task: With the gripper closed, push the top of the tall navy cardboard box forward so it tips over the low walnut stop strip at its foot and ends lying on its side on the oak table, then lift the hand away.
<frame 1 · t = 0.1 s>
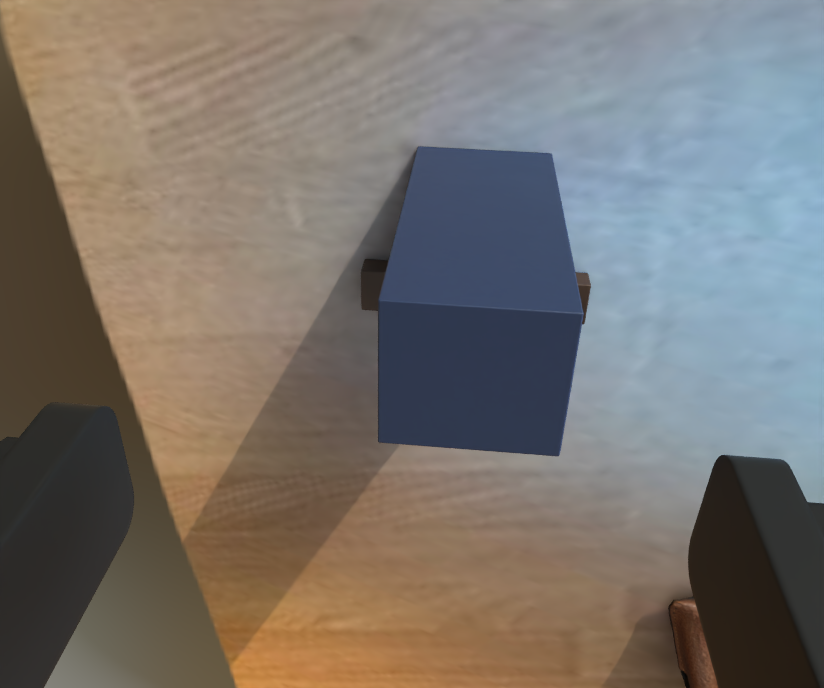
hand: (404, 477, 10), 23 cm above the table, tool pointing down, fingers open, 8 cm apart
navy box: (480, 206, 33), on the table
stop strip: (474, 285, 35), on the table
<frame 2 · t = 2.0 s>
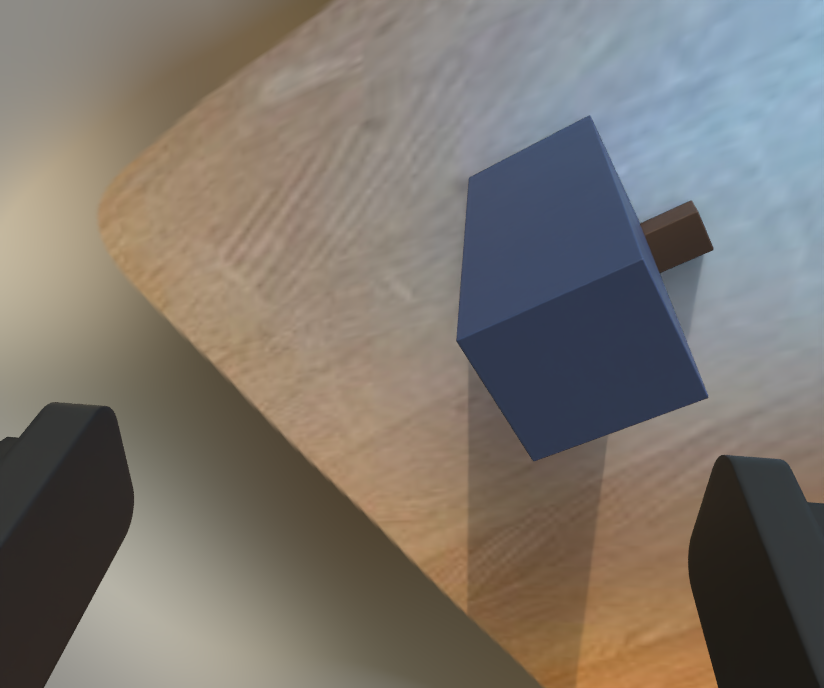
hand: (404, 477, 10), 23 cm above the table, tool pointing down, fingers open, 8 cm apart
navy box: (553, 197, 33), on the table
stop strip: (589, 268, 34), on the table
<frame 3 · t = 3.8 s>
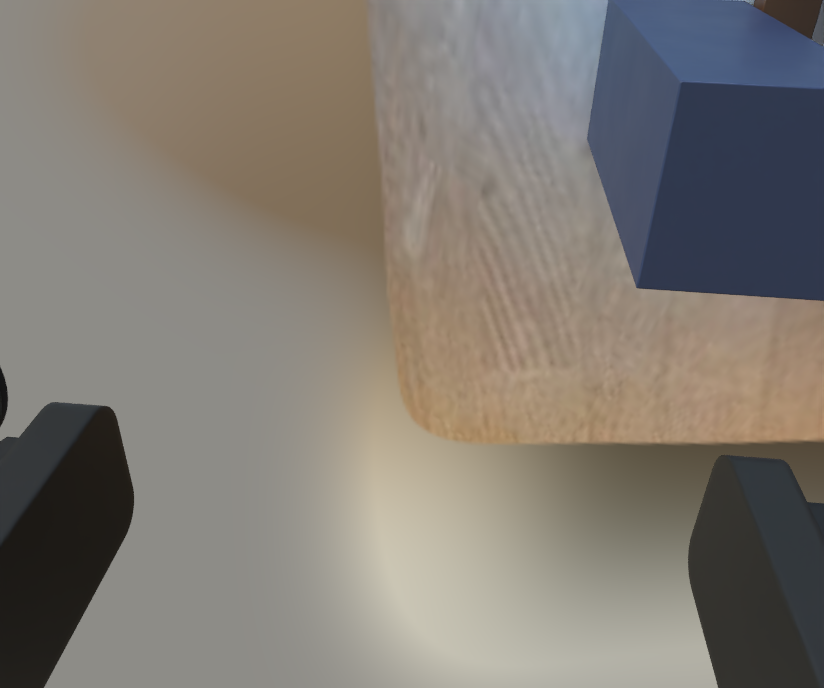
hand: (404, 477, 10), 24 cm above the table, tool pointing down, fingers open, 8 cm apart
navy box: (661, 73, 30), on the table
stop strip: (760, 78, 30), on the table
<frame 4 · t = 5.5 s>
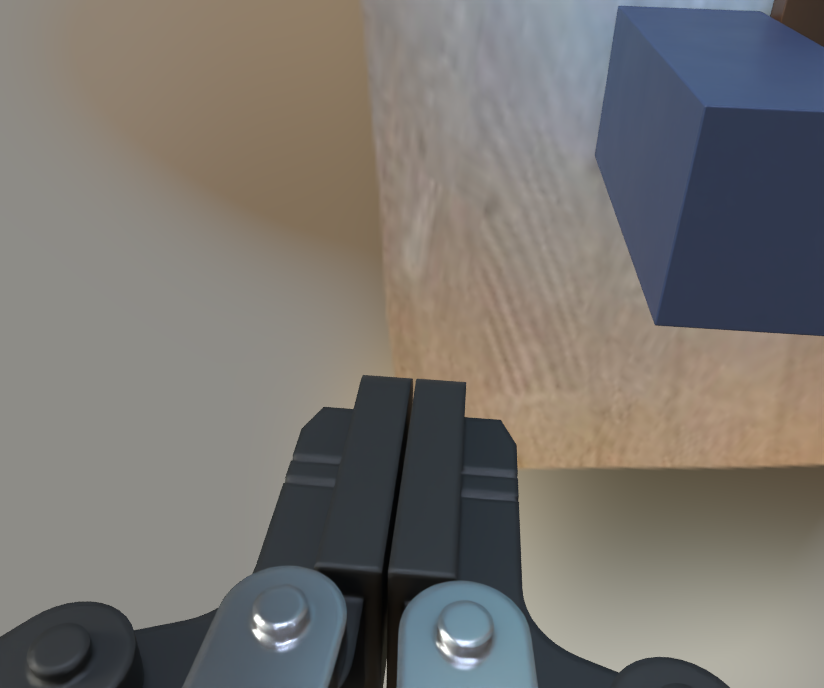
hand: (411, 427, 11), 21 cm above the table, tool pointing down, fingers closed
navy box: (673, 87, 28), on the table
stop strip: (777, 92, 28), on the table
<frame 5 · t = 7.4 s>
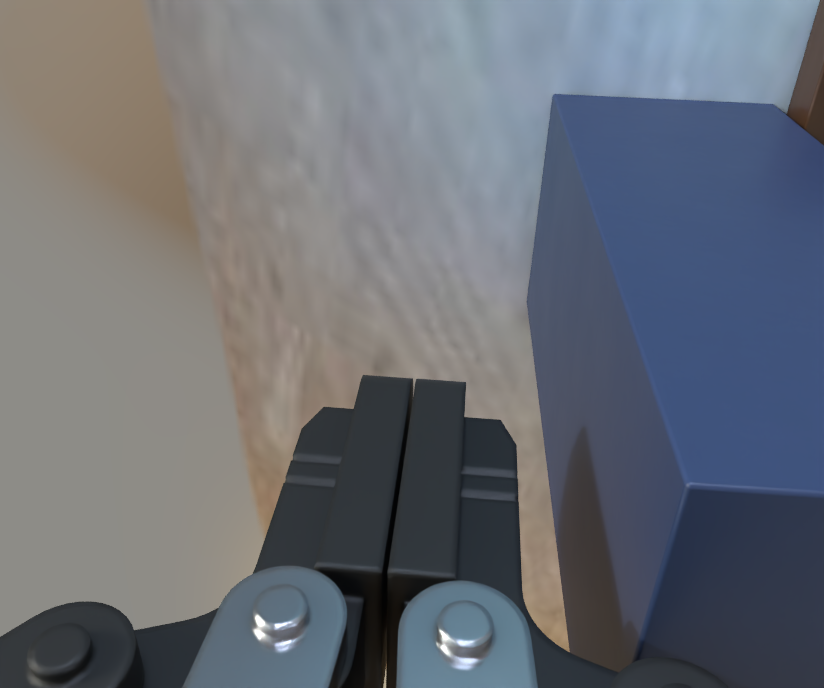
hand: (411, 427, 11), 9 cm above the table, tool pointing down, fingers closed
navy box: (639, 211, 19), on the table, touching gripper
stop strip: (797, 220, 19), on the table
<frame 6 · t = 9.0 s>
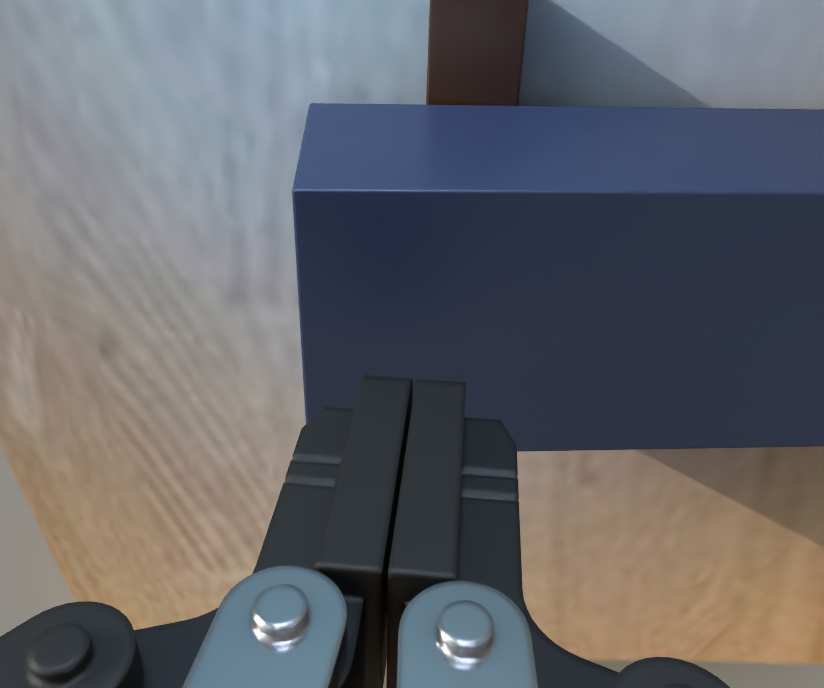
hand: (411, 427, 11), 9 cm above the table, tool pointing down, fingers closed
navy box: (308, 272, 16), point 4 cm above the table, tilted 98°, touching stop strip
stop strip: (465, 201, 19), on the table
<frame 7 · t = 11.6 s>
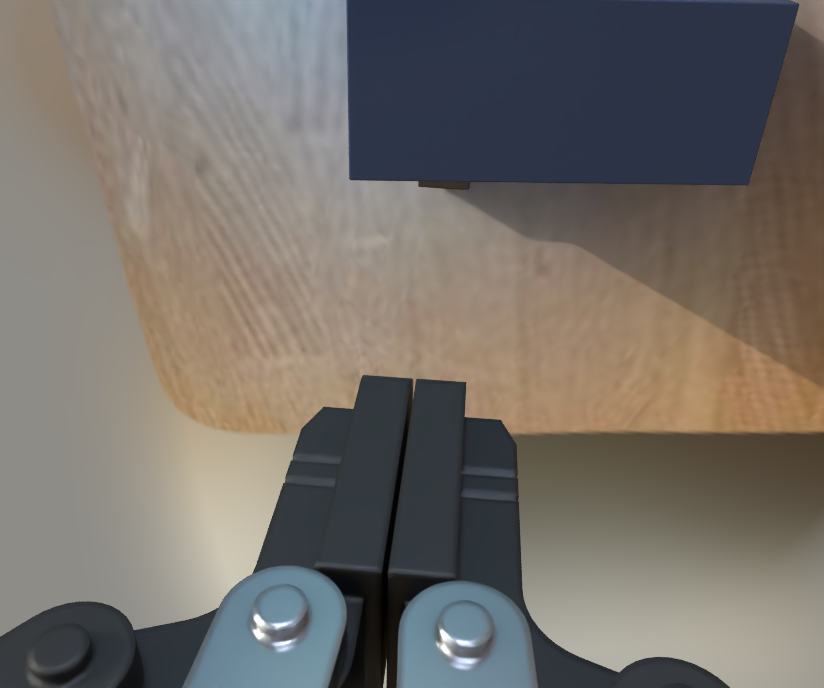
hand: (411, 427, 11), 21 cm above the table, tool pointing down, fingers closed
navy box: (350, 72, 25), point 4 cm above the table, tilted 98°, touching stop strip
stop strip: (452, 48, 28), on the table
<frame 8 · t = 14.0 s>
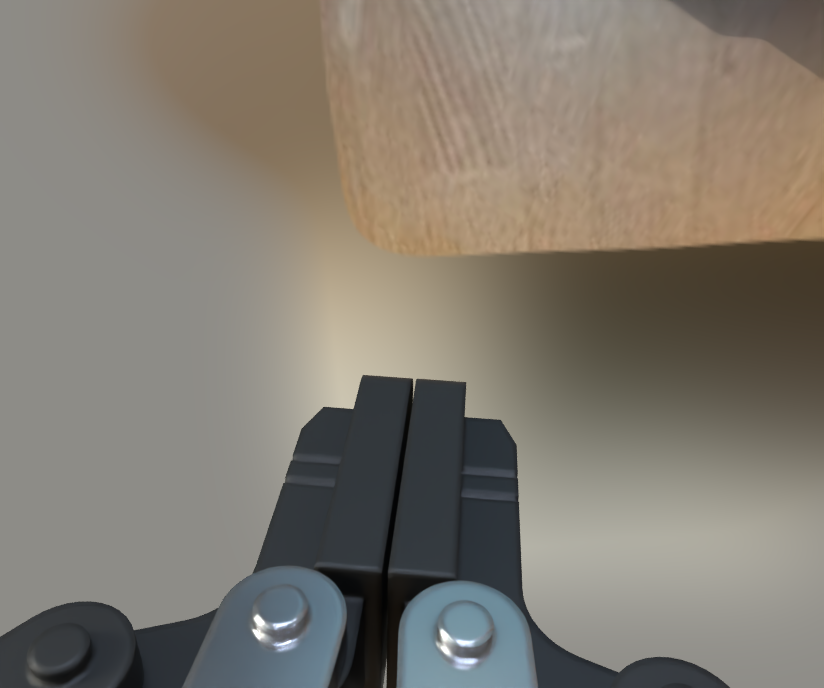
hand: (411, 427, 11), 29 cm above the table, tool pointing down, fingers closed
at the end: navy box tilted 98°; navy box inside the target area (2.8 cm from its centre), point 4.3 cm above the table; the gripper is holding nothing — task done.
